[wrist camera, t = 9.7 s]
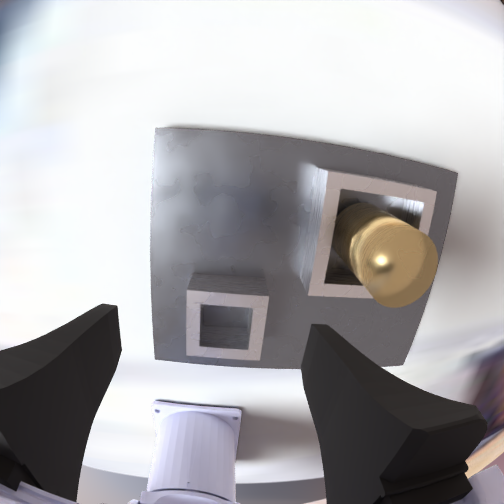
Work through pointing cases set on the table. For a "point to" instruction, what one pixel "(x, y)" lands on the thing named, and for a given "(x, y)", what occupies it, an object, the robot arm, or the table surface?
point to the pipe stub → (385, 254)
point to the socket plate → (275, 246)
